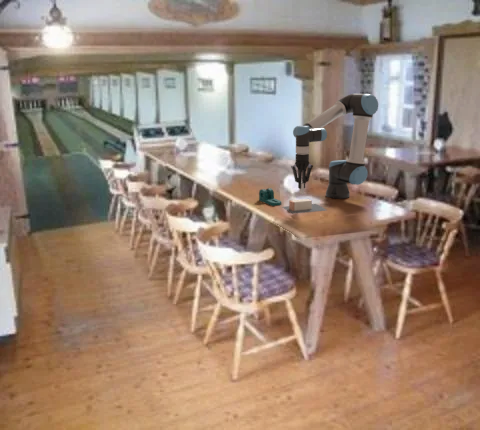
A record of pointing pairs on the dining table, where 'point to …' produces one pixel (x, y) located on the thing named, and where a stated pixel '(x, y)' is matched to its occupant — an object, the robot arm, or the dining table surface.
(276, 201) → the bracket
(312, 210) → the slate mat
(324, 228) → the dining table surface
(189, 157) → the dining table surface
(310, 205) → the cream block
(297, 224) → the dining table surface
